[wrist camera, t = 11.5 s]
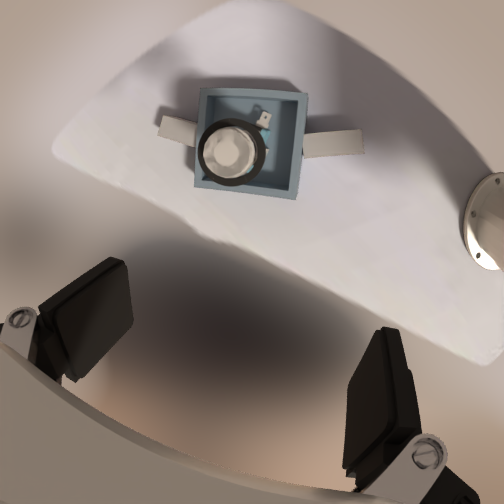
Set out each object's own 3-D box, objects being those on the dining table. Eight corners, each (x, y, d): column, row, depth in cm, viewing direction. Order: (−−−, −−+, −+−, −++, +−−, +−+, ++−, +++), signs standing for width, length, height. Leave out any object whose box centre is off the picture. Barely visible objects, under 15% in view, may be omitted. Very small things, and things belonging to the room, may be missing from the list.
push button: (247, 104, 27) (214, 91, 18) (293, 124, 26) (283, 117, 18) (223, 160, 30) (182, 172, 21) (267, 180, 29) (244, 200, 20)
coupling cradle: (366, 108, 25) (371, 104, 22) (352, 203, 29) (356, 210, 26) (170, 93, 28) (157, 90, 25) (166, 178, 32) (152, 183, 30)
